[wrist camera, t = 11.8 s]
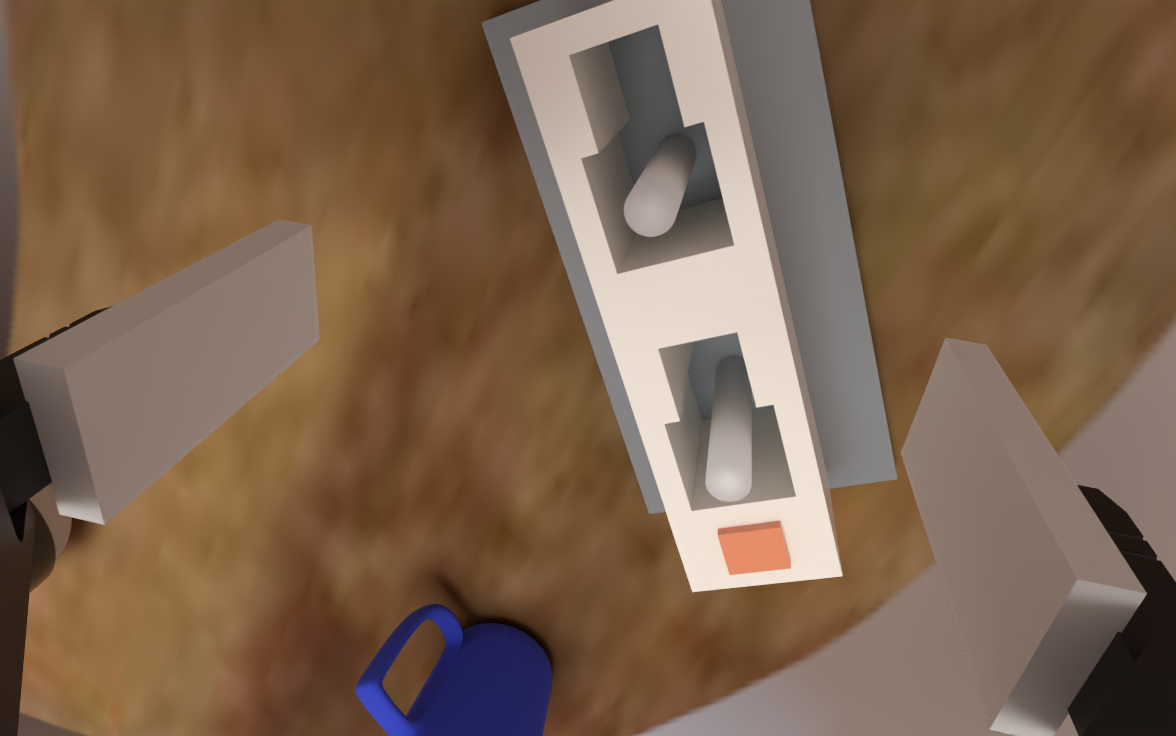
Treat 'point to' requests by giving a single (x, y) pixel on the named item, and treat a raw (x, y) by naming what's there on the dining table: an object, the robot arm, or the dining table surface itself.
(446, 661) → the mug
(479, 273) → the dining table surface
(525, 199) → the dining table surface
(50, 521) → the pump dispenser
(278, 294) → the robot arm
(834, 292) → the grey piece
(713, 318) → the white slotted block
